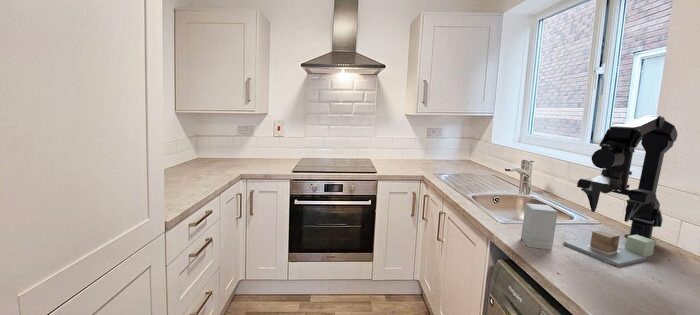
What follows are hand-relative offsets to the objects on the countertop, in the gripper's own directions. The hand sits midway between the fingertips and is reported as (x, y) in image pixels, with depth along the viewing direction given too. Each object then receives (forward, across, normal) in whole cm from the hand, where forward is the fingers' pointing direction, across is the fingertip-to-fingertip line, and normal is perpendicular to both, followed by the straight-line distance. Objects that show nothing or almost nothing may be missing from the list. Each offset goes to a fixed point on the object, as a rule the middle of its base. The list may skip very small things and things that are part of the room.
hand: (608, 216), depth 101 cm
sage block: (+12, +4, +11) cm, 17 cm away
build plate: (+12, 0, 0) cm, 12 cm away
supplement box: (+12, -11, -16) cm, 23 cm away
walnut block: (+11, 0, 0) cm, 11 cm away
